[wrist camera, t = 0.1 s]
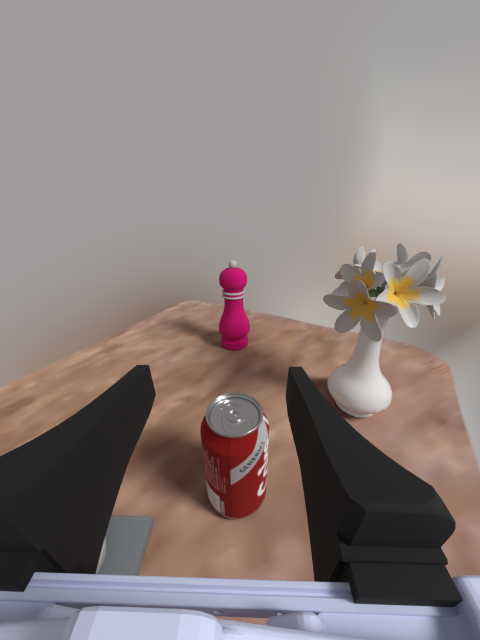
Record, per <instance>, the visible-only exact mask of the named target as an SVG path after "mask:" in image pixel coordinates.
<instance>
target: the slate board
mask: <svg viewBox="0 0 480 640" xmlns="http://www.w3.org/2000/svg"><path fill="white" fill-rule="evenodd" d="M153 524H154V521H153V517H135V516H111V518H110V522H109V525H108V528H107V532H106V537H107V540H108V550H107V555H106V558H105V561H104V563H103V565H102V567H101V569H100V570H99V572H98V573H97V574H103V575H133V576H138V574H139V570H140V567H141V564H142V560H143V557H144V554H145V550H146V547H147V544H148V541H149V537H150V534H151V531H152V527H153Z"/></svg>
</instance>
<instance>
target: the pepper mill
mask: <svg viewBox="0 0 480 640" xmlns="http://www.w3.org/2000/svg"><path fill="white" fill-rule="evenodd" d="M229 267H230V268H226V269H225V270H223V271H222V272H221V274H220V277H219V282H220V285H221V286H222V288H223V290H222V292H223V295H222V297H223V298H224V300H225V306H224V312H223V315H222V317H221V320H220V323H219V331H220V333H221V335H222V346H223V347H224V348H225V349H228V350H241V349H243V348H245V347H246V346H247V345H248V337H247V334H248V333H249V331H250V324H249V320H248V318H247V316H246V313H245V311H244V307H243V297H244V296H245V294H244V292H245V290H244V289H243V288H244V287H245V286H246V284H247V276H246V273H245V272H244V271H243V270H242V269H240V268H237V262H236V261H235V260H231V261H230V262H229Z"/></svg>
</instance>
